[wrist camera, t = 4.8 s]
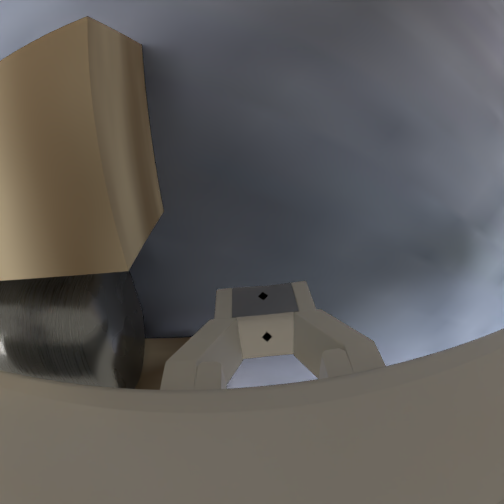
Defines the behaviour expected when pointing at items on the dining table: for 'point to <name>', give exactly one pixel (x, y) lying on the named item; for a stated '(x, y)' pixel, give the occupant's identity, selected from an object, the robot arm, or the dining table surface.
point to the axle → (73, 329)
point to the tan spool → (78, 163)
